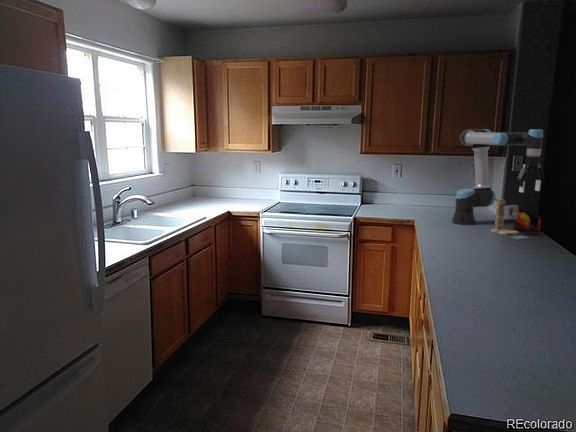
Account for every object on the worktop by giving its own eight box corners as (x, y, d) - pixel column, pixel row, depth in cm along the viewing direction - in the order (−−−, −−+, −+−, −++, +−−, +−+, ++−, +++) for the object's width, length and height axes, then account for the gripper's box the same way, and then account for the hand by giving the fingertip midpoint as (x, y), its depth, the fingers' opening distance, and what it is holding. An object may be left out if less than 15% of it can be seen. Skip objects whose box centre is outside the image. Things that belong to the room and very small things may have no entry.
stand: (490, 231, 273) (493, 200, 270) (502, 229, 277) (505, 199, 273) (507, 235, 262) (510, 202, 258) (520, 234, 265) (522, 201, 261)
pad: (510, 237, 256) (510, 236, 256) (521, 236, 259) (521, 235, 259) (518, 239, 250) (519, 238, 250) (530, 238, 253) (530, 237, 253)
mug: (540, 232, 270) (541, 213, 267) (515, 231, 273) (517, 212, 271) (535, 229, 279) (537, 210, 277) (512, 228, 282) (513, 210, 280)
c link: (507, 219, 262) (508, 206, 261) (503, 218, 265) (504, 205, 263) (517, 218, 265) (518, 205, 263) (513, 217, 268) (514, 204, 266)
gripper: (524, 156, 246) (520, 193, 251) (553, 155, 256) (549, 191, 260) (512, 156, 253) (509, 191, 257) (542, 154, 263) (538, 189, 267)
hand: (529, 191), depth 259 cm, fingers open, 13 cm apart
